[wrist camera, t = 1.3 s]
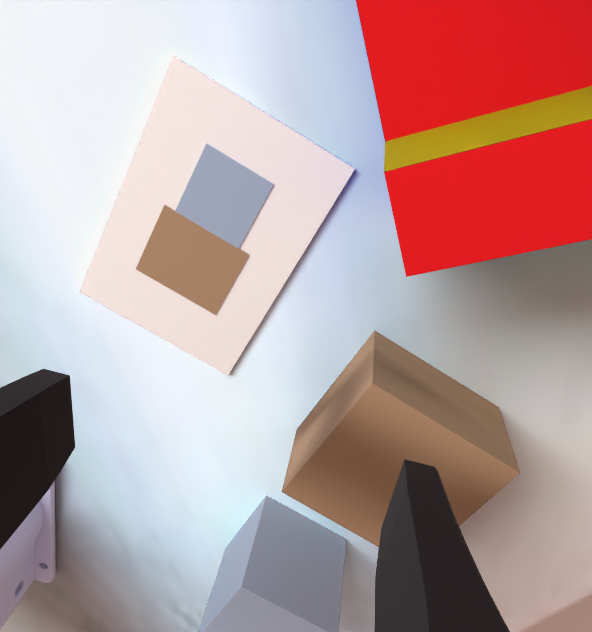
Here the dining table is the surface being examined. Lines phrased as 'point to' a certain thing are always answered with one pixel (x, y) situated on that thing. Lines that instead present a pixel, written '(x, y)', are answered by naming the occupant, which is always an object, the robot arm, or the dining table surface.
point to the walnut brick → (395, 440)
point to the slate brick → (278, 576)
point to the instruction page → (210, 218)
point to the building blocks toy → (483, 124)
